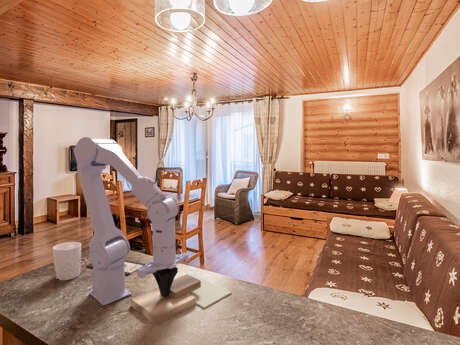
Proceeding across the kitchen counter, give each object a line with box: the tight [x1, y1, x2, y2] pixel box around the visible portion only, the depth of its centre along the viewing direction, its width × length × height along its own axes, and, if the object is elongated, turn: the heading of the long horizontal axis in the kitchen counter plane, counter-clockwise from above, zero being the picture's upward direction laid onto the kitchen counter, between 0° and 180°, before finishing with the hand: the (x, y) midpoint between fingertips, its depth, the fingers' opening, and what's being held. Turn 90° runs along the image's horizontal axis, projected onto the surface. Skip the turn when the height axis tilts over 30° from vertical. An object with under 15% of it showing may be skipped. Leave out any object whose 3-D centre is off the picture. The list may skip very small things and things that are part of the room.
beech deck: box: [130, 287, 197, 326], centre depth 73 cm, size 12×12×2 cm
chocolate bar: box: [85, 259, 146, 277], centre depth 97 cm, size 9×1×18 cm
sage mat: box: [188, 272, 232, 309], centre depth 81 cm, size 18×11×1 cm, turn 48°
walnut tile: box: [169, 273, 201, 300], centre depth 77 cm, size 6×9×2 cm, turn 139°
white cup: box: [52, 241, 82, 281], centre depth 89 cm, size 8×8×10 cm
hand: (164, 294), depth 73 cm, fingers closed
